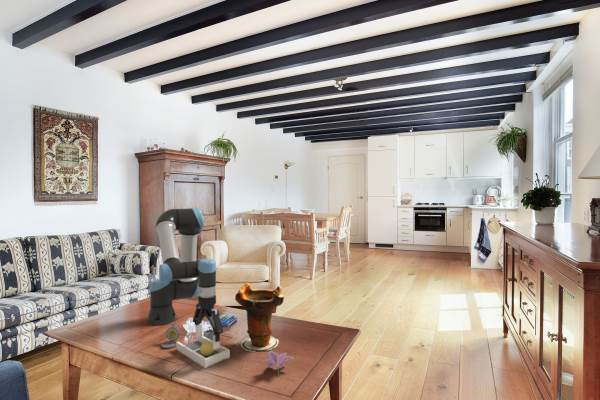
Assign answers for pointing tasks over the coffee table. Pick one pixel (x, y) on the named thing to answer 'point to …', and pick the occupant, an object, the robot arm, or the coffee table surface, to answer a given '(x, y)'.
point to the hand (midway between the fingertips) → (207, 343)
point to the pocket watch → (170, 332)
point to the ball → (207, 348)
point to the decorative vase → (259, 316)
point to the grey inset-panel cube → (209, 334)
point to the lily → (277, 359)
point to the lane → (195, 354)
